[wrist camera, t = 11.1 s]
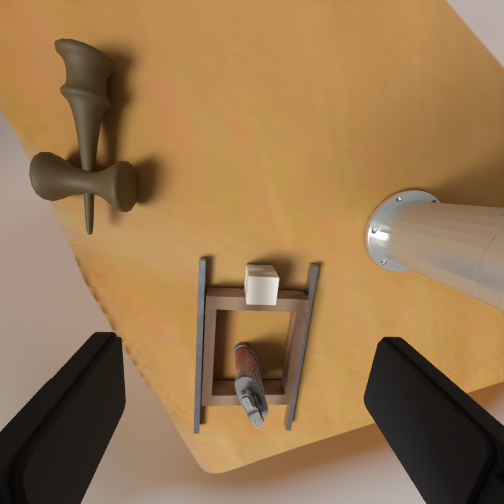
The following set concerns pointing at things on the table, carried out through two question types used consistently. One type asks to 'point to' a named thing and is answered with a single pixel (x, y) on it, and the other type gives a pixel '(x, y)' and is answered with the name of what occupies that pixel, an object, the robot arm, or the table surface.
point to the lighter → (250, 384)
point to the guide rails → (200, 332)
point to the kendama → (85, 138)
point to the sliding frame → (259, 299)
